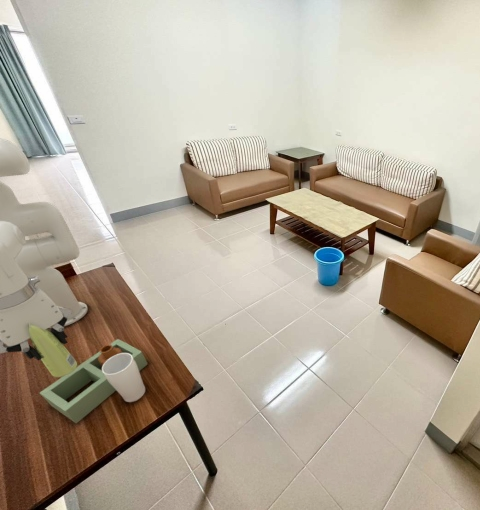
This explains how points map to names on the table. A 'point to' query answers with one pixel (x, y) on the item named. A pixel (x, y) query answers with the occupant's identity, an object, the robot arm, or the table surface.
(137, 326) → the table surface
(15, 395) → the table surface
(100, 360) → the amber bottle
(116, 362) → the white cup
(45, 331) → the tube
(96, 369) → the caddy
